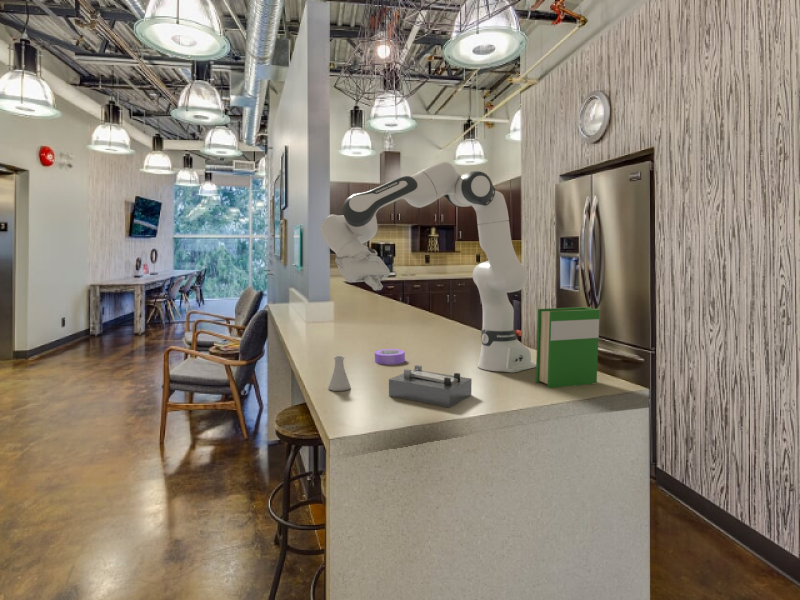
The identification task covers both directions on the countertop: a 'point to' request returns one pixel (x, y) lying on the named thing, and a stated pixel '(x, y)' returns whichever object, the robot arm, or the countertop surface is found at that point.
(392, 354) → the masking tape
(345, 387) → the flask
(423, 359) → the countertop surface
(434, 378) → the switch lever
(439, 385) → the lever switch box
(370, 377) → the countertop surface
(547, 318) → the hardback book
